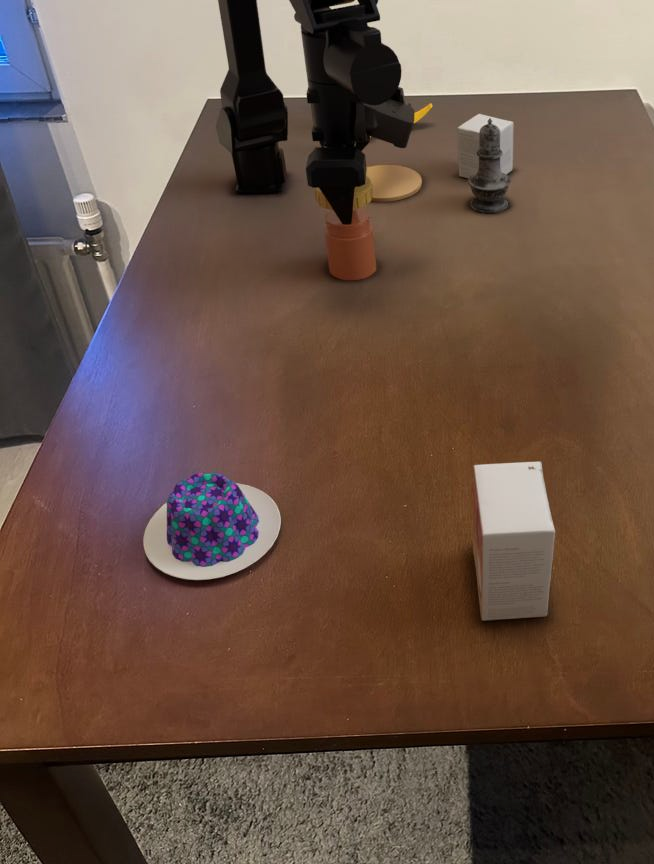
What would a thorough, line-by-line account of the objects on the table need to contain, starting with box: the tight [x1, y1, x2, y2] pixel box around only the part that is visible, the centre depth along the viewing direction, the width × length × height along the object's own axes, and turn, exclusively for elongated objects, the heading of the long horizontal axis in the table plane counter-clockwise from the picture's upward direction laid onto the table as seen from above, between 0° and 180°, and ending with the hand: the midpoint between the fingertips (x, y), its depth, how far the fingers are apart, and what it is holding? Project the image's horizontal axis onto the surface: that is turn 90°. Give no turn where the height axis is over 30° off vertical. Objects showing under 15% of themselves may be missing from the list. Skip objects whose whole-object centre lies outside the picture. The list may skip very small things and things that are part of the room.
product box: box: [456, 113, 514, 179], centre depth 130 cm, size 6×6×7 cm
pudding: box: [142, 472, 282, 581], centre depth 78 cm, size 12×12×5 cm
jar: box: [323, 207, 378, 281], centre depth 111 cm, size 6×6×7 cm
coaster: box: [366, 164, 423, 203], centre depth 130 cm, size 11×11×1 cm
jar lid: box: [314, 176, 373, 211], centre depth 106 cm, size 7×7×2 cm
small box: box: [472, 461, 556, 622], centre depth 72 cm, size 8×6×10 cm
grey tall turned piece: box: [467, 118, 512, 214], centre depth 121 cm, size 6×6×12 cm
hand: (348, 211), depth 107 cm, fingers closed on jar lid, 6 cm apart
